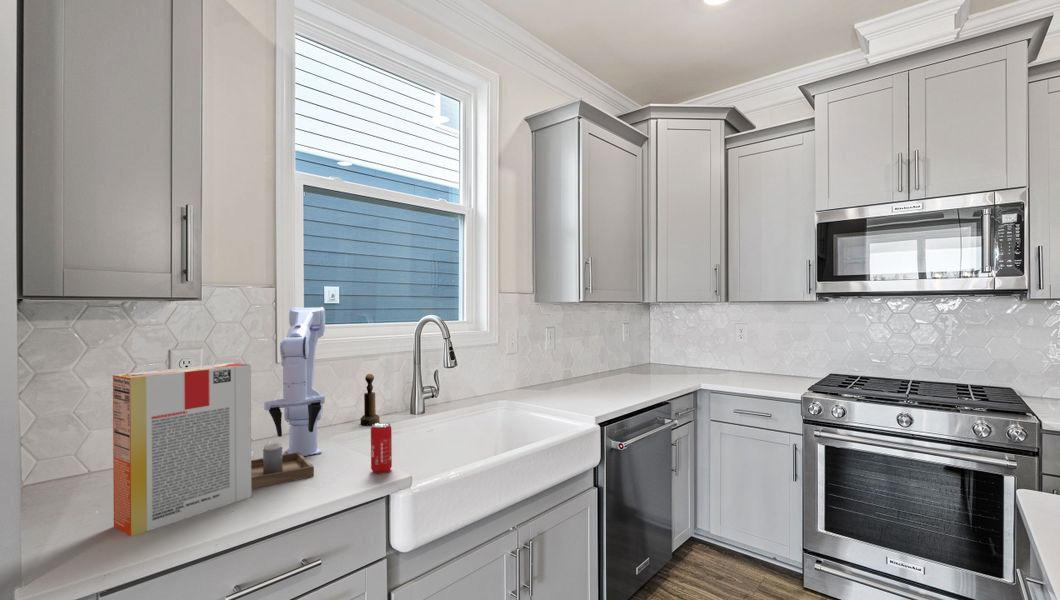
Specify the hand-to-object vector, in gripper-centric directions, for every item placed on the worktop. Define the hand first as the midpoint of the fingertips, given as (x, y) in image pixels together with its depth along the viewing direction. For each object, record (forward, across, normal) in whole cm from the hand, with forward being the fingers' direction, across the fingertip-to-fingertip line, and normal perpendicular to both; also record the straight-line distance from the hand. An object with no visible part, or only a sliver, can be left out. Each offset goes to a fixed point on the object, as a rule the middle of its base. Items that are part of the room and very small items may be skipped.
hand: (295, 433), depth 135 cm
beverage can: (+10, +18, -16) cm, 25 cm away
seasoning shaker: (+9, -6, -1) cm, 10 cm away
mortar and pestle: (+10, +33, +38) cm, 52 cm away
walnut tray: (+9, -6, -1) cm, 11 cm away
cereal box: (+10, -24, -15) cm, 30 cm away
